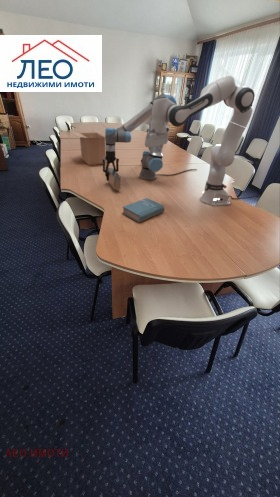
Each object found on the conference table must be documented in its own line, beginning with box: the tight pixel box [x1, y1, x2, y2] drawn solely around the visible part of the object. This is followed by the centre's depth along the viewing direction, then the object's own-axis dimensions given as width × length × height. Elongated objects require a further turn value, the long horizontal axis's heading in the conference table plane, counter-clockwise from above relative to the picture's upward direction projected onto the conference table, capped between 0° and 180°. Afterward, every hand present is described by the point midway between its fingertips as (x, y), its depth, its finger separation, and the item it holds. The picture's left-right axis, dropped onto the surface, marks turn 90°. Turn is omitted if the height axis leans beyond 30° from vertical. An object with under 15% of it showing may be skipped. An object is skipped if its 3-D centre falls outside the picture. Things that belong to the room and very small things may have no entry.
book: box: [122, 197, 165, 224], centre depth 146 cm, size 23×16×5 cm
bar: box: [107, 167, 122, 190], centre depth 177 cm, size 22×5×10 cm, turn 22°
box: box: [70, 129, 107, 166], centre depth 229 cm, size 44×36×27 cm
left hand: (110, 180), depth 185 cm, fingers closed on bar, 5 cm apart
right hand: (155, 153), depth 142 cm, fingers open, 8 cm apart
